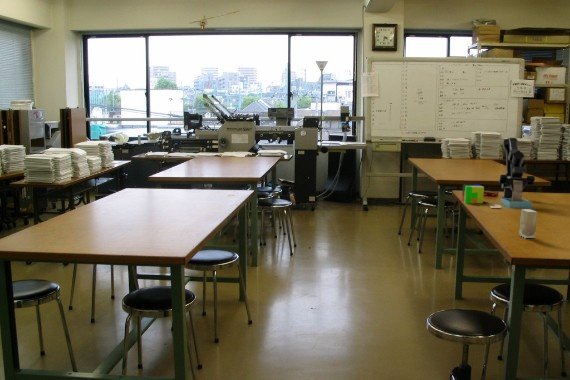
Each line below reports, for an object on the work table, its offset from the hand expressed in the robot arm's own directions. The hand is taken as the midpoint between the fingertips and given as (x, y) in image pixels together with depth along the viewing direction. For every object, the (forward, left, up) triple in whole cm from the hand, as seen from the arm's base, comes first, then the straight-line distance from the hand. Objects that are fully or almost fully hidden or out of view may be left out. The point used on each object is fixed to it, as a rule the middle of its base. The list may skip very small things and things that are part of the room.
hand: (517, 191), depth 322 cm
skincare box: (+78, -27, -9) cm, 83 cm away
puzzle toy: (-14, -21, -9) cm, 27 cm away
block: (-1, 0, -7) cm, 7 cm away
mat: (-1, 0, -9) cm, 9 cm away
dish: (-1, 0, -9) cm, 9 cm away
